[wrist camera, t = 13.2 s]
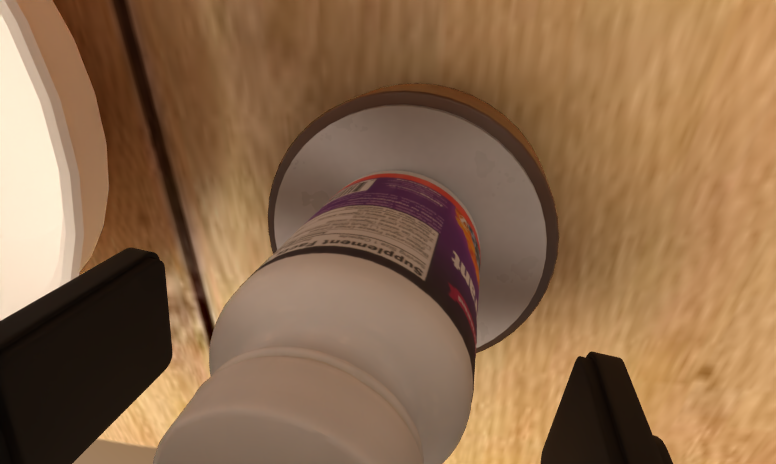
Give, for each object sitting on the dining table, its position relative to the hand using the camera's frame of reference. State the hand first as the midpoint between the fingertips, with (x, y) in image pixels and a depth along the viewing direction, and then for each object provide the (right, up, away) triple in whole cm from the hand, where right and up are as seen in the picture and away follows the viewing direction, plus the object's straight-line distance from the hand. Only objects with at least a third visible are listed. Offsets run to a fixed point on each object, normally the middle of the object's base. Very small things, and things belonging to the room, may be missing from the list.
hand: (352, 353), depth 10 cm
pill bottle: (+1, +2, +5) cm, 6 cm away
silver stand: (+2, +3, +8) cm, 9 cm away
